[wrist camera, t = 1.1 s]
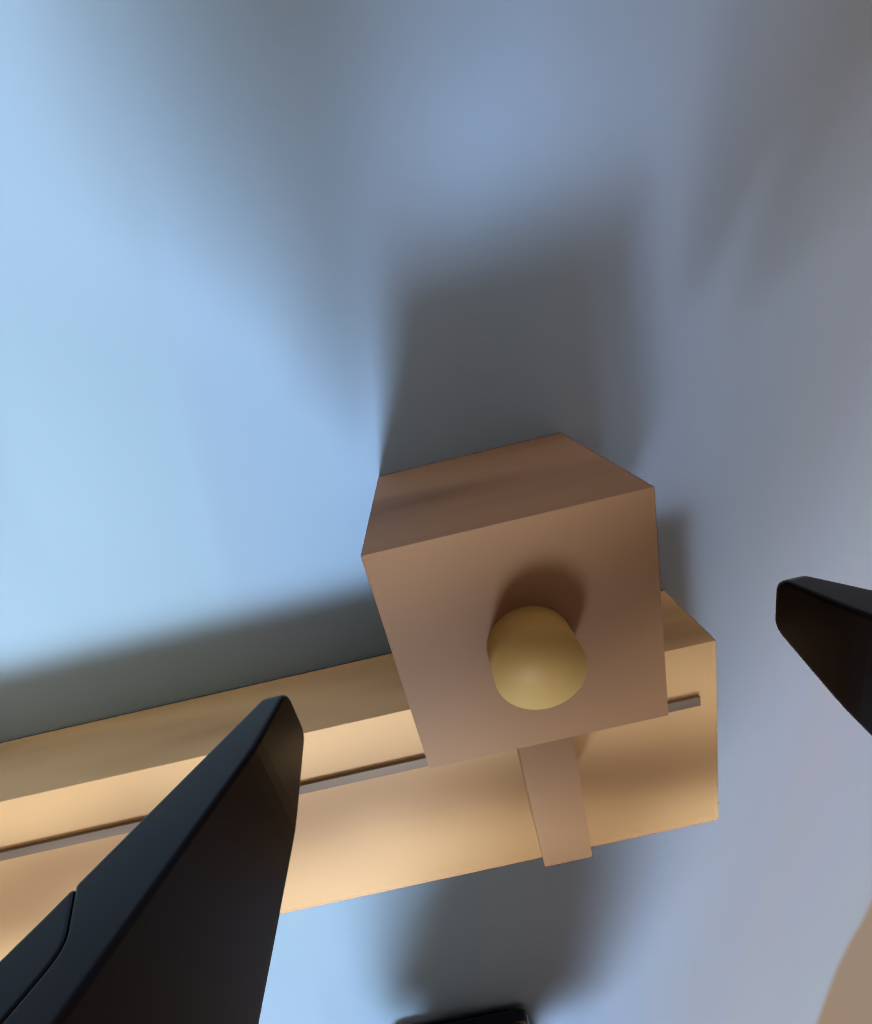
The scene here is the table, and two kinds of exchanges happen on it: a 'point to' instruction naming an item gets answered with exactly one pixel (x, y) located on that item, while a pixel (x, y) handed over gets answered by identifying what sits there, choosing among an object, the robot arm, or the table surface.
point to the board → (350, 784)
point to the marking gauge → (522, 612)
